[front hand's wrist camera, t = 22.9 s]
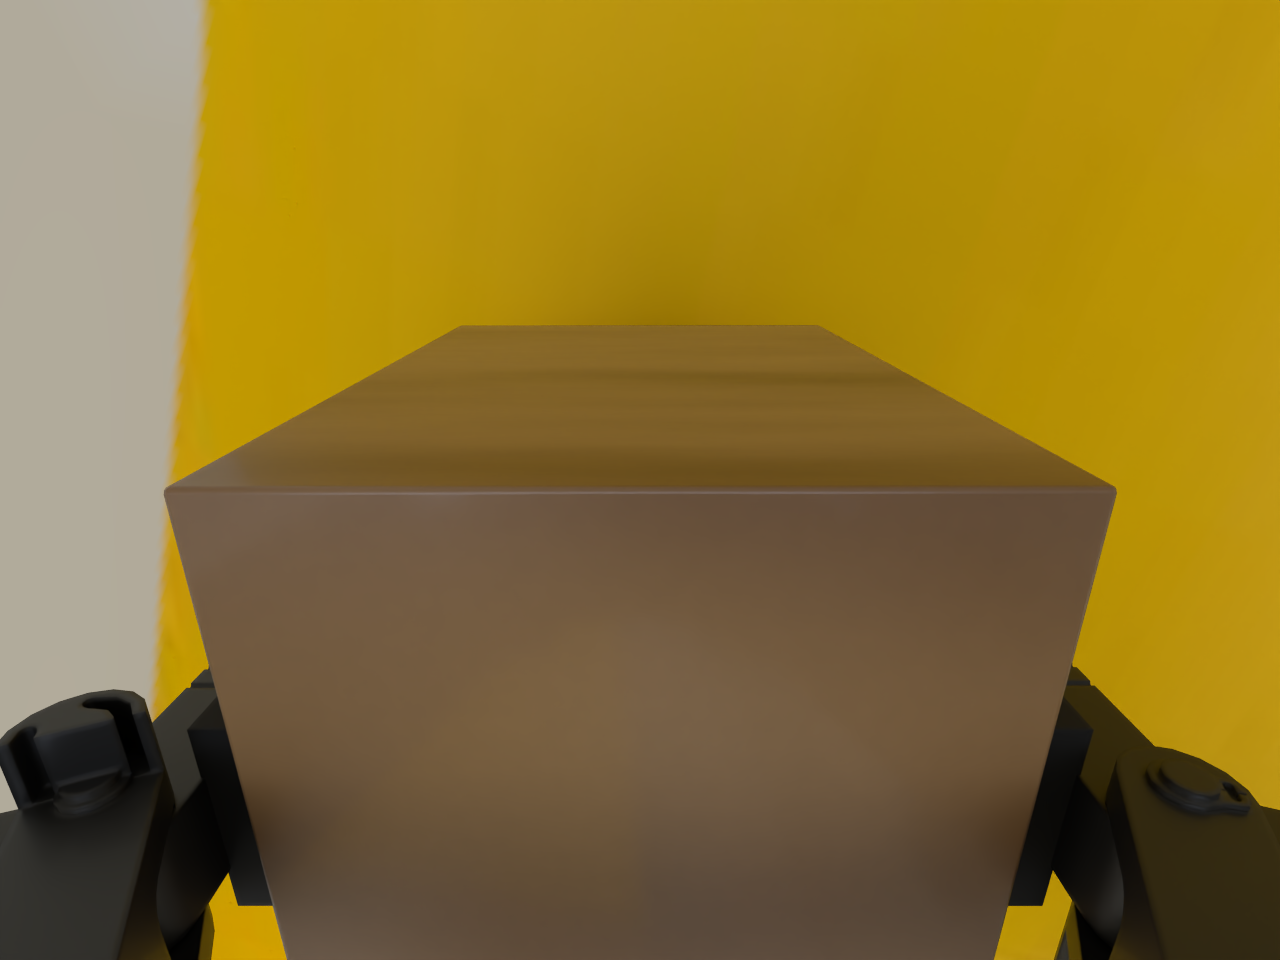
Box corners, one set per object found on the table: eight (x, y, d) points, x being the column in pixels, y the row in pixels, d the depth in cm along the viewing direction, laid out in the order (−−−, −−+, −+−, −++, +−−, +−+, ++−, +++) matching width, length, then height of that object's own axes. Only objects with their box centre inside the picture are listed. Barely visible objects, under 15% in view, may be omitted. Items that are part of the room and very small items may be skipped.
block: (459, 325, 16) (159, 489, 6) (819, 325, 16) (1123, 487, 6) (488, 638, 19) (320, 1095, 9) (791, 638, 19) (960, 1093, 9)
